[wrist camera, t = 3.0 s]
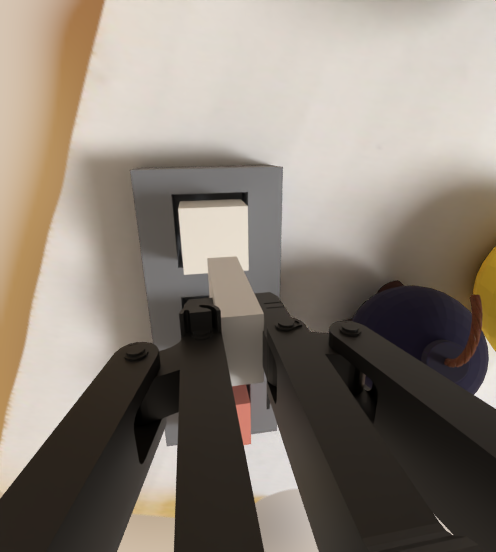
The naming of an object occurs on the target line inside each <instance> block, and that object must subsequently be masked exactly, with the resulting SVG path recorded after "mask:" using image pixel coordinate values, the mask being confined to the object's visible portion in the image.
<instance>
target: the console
mask: <svg viewBox="0 0 496 552" xmlns="http://www.w3.org/2000/svg"><path fill="white" fill-rule="evenodd" d="M130 173H131V180H132V188H133V195H134V203H135V210H136V218H137V225H138V233H139V240H140V248H141V255H142V263H143V270H144V278H145V285H146V293H147V301H148V308H149V316H150V323H151V331H152V338H153V344H154V345H156V346H157V347H158V349H159V351H161V350H165V349H167V348H170V347H172V346H174V345H176V344H177V343H179V342H180V341H181V331H180V320H179V313H180V311H181V310H182V309H183V308H184V304H185V303H186V302H187V301H188V300H189V299H201V298H210V297H209V280H208V273H204V274H189V275H184V270H183V258H182V247H181V235H180V224H179V213H178V207H179V203H180V201H200V200H228V199H241V200H242V201H243V202H244V203H245V204H246V205H247V206H248V254H249V270H248V271H244V273H245V275H246V277H247V279H248V281H249V283H250V286H251V288H252V290H253V292H254V293H264V292H271V293H273V294H275V295H276V296H278V297H279V299H280V266H281V222H282V179H283V167H279V166H273V165H265V166H215V167H166V168H136V169H133V170H130ZM246 387H247V391H248V395H249V399H250V407H251V434H257V433H264V432H271V431H277V422H276V419H275V415H274V412H273V409H272V406H271V403H270V409H267V407H266V394H267V378H266V375H265V372H264V382H262V383H254V384H246ZM178 416H179V412H178V413H175V414H172V415H170V416H167V424H166V427H165V436H166V443H167V446H173V445H178Z"/></svg>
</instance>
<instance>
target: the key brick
mask: <svg viewBox="0 0 496 552" xmlns="http://www.w3.org/2000/svg"><path fill="white" fill-rule="evenodd" d="M232 388H233V394H234V399H235V404H236V409H237V414H238V419H239V424H240V430H241V435H242V440H243V445H247V444H251V407H250V399H249V395H248V391H247V387H246V385H238V386H232Z"/></svg>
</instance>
